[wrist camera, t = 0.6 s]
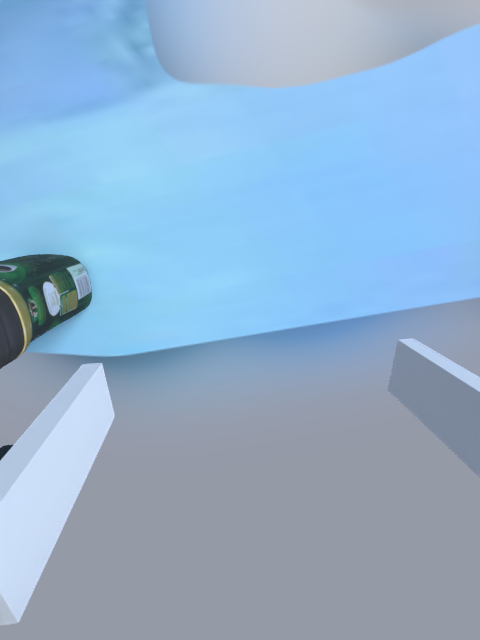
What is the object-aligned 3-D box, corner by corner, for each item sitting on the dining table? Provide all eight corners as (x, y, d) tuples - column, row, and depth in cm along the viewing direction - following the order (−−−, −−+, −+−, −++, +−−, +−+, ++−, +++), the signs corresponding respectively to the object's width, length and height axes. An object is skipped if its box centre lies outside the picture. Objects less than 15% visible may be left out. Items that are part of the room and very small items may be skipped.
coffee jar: (25, 314, 36) (-143, 399, 19) (6, 254, 33) (-210, 289, 16) (100, 311, 37) (6, 389, 20) (88, 252, 34) (-33, 284, 17)
